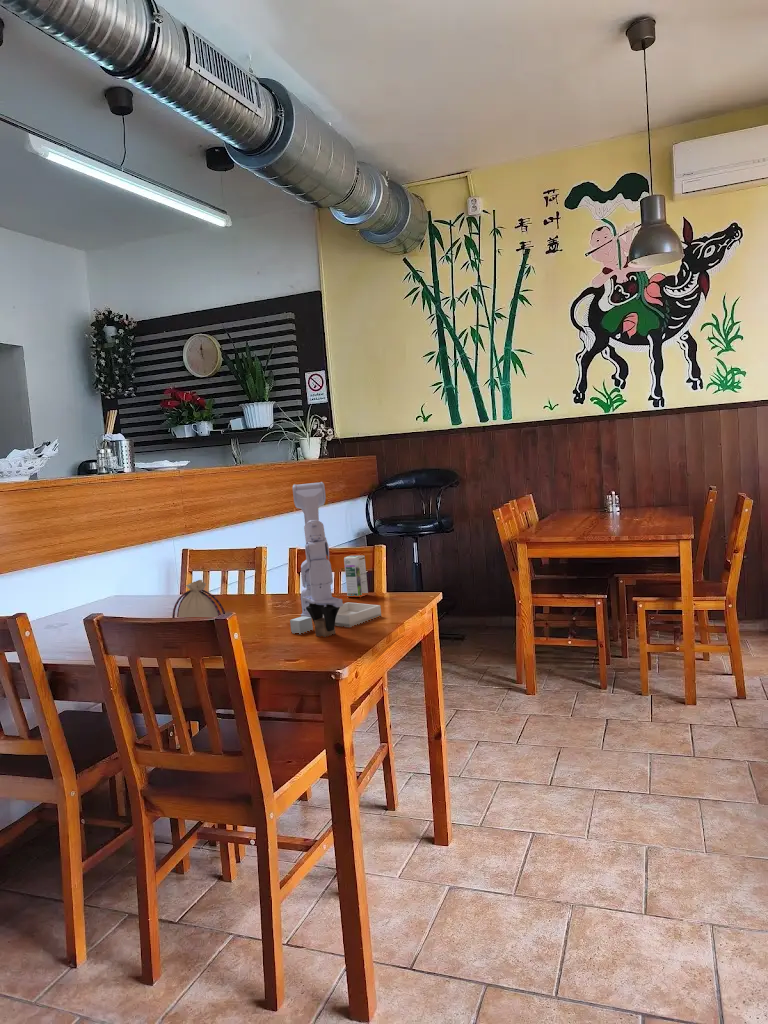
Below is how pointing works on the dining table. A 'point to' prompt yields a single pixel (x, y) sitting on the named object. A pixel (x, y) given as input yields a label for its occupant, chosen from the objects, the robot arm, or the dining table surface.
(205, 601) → the pouch
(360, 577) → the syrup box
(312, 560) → the robot arm
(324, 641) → the dining table surface
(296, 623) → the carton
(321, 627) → the walnut block
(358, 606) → the tote
